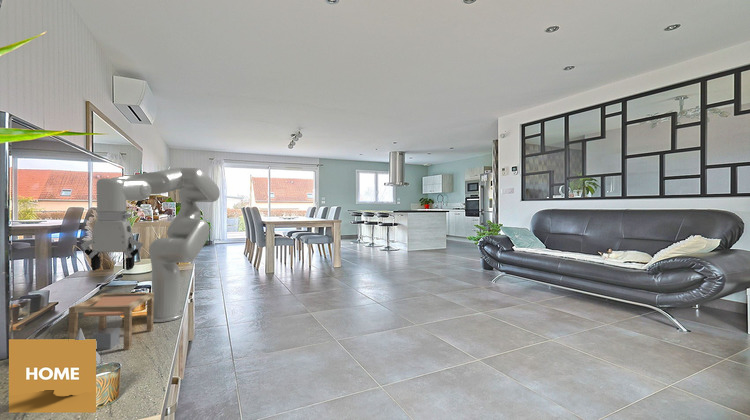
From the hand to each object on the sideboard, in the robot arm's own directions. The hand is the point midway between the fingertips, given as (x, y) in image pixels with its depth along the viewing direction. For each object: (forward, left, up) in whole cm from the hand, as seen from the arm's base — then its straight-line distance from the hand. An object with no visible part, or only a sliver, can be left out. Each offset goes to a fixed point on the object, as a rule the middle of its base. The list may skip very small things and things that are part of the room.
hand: (113, 269), depth 111 cm
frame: (-2, 0, -24) cm, 24 cm away
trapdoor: (-3, 0, -13) cm, 13 cm away
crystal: (+27, +7, -24) cm, 37 cm away
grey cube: (0, 0, -22) cm, 22 cm away
